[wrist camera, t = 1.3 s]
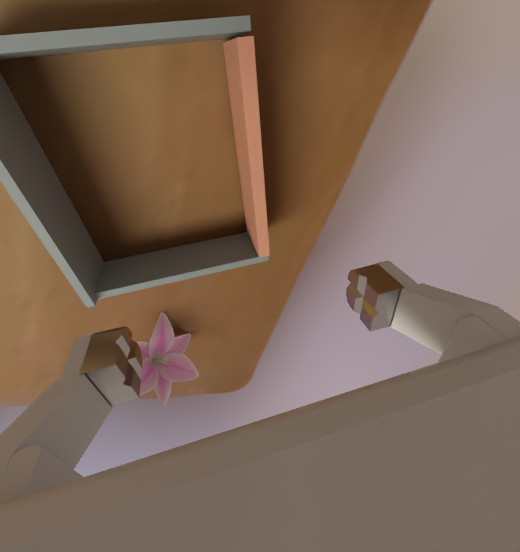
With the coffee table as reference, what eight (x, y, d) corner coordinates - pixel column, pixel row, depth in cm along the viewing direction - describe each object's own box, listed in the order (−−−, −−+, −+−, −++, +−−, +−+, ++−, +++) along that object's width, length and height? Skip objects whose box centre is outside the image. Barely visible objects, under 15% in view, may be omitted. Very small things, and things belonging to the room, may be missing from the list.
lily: (196, 354, 49) (220, 380, 41) (130, 395, 43) (143, 433, 36) (170, 296, 44) (191, 313, 36) (93, 334, 39) (99, 363, 31)
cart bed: (-26, 47, 20) (-96, 40, 15) (233, 25, 23) (253, 13, 18) (99, 268, 33) (86, 307, 28) (255, 235, 36) (271, 265, 31)
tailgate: (223, 43, 23) (236, 37, 19) (236, 41, 23) (253, 35, 19) (247, 232, 35) (259, 257, 30) (256, 230, 35) (269, 255, 30)
